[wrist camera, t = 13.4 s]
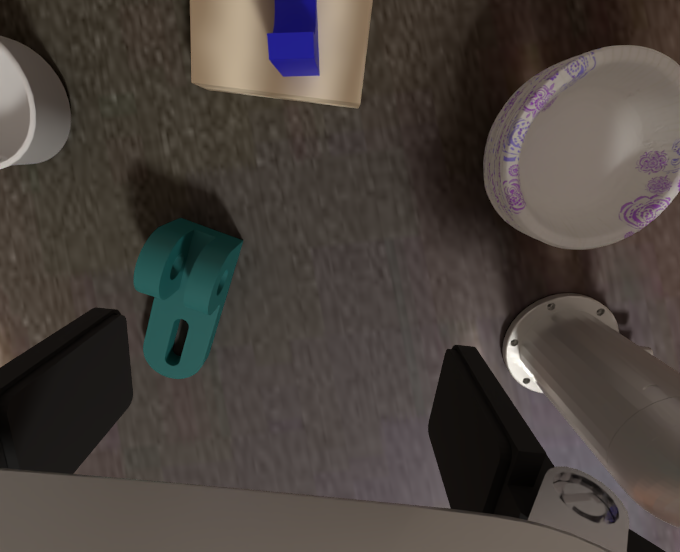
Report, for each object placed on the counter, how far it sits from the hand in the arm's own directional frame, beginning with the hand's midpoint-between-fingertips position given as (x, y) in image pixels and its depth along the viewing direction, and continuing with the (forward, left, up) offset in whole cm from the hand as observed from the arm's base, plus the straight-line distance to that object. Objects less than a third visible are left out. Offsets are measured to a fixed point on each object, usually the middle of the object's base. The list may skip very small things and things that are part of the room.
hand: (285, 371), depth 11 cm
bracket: (+14, +12, -29) cm, 34 cm away
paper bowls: (-21, -8, -29) cm, 36 cm away
